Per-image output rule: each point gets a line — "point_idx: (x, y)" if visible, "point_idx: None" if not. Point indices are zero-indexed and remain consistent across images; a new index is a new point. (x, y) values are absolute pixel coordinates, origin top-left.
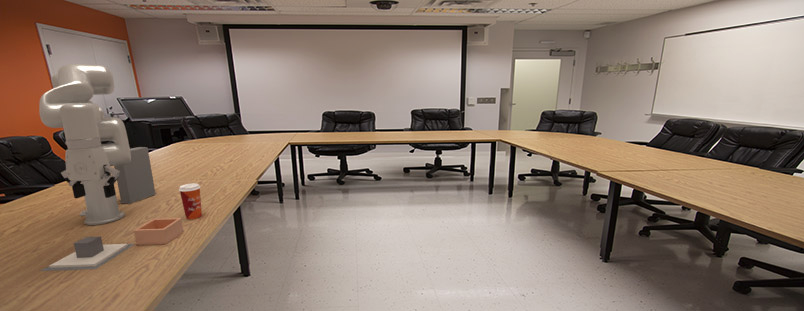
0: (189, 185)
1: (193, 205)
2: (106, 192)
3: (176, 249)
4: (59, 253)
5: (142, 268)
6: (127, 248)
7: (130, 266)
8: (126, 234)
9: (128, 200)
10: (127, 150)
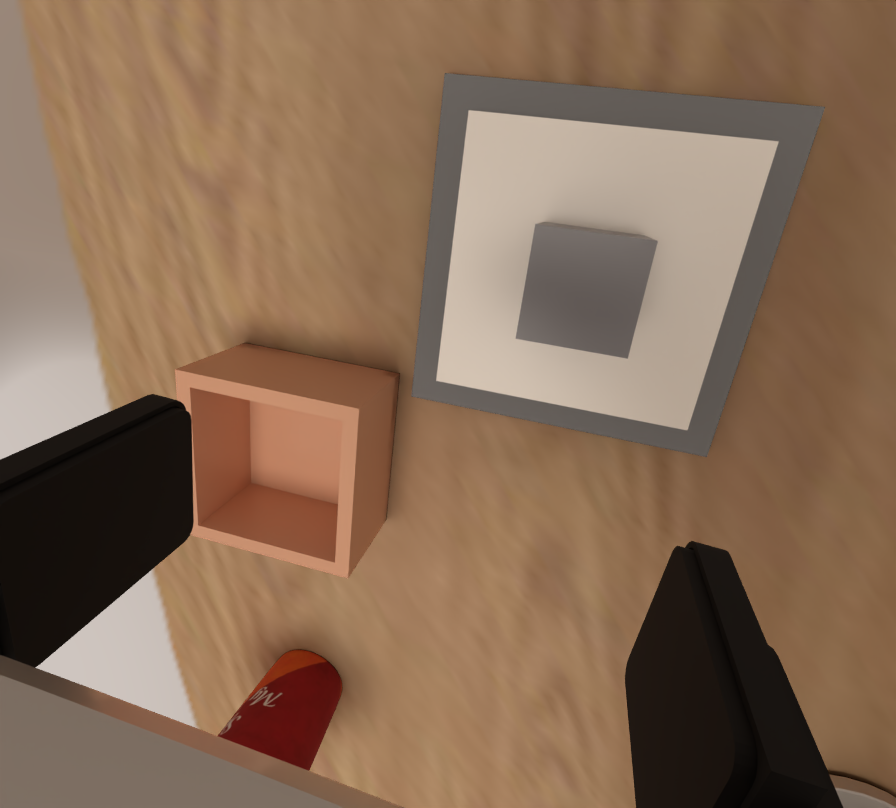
0: None
1: (239, 716)
2: (83, 433)
3: (168, 279)
4: (849, 401)
5: (203, 62)
6: (421, 340)
7: (283, 102)
8: (556, 567)
9: None
10: None
